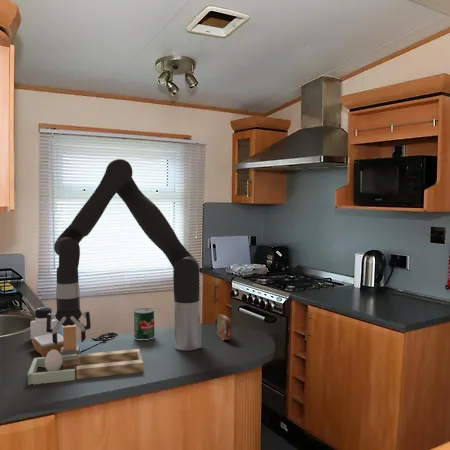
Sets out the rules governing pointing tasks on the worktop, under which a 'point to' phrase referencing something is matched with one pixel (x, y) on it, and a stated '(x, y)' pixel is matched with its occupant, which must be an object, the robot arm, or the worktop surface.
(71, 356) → the tray
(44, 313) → the medicine bottle
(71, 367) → the chip block
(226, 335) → the tin
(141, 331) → the canned tomato
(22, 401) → the worktop surface
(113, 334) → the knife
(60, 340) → the soap dish
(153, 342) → the worktop surface
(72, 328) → the tan block grey base
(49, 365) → the egg
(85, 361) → the shallow wooden box
